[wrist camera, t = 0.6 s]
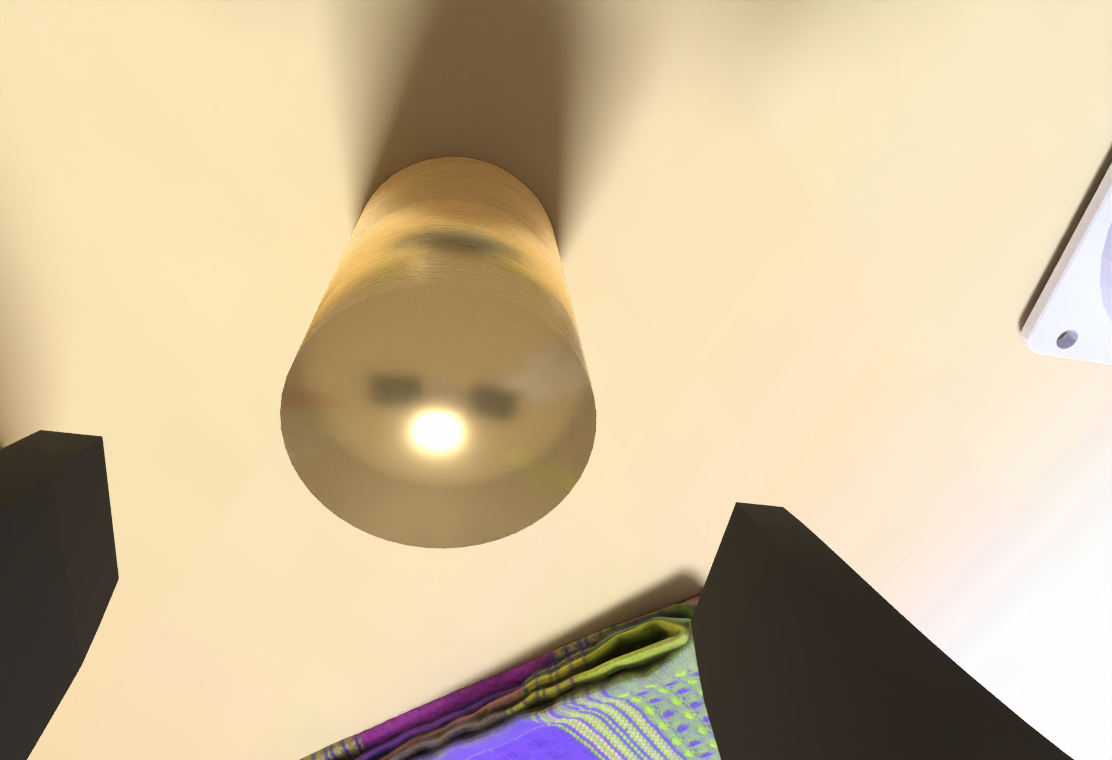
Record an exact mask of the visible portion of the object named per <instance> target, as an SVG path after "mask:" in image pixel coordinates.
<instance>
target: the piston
mask: <svg viewBox="0 0 1112 760" xmlns="http://www.w3.org/2000/svg"><path fill="white" fill-rule="evenodd" d="M280 416H281V430H282V435H283V439H284V444H285V447H286V450H287V453H288V455H289V458H290V460H291V463H292V465H293V466H294V468H295V470H296V472H297V473H298V475H299V477H300V479H301V480H302V481H303V483H304V484H305V485H306V487H307V488H308V489H309V490H310V492H311V493H312V494H313V495H314V496H315V497H316V498H317V499H318V500H319V501H320V502H321V503H322V504H323V505H324V506H325V507H326V508H328V509H329V510H330V511H332V512H333V513H334V514H335V515H337V516H338V517H339V518H341V519H343V520H344V521H346V522H348V523H349V524H351V525H352V526H354V527H356V528H358V529H360V530H362V531H365V532H367V533H369V534H371V535H374V536H377V537H379V538H382V539H385V540H388V541H392V542H396V543H400V544H404V545H410V546H417V547H424V548H458V547H467V546H473V545H479V544H484V543H487V542H491V541H495V540H499V539H501V538H504V537H506V536H509V535H512V534H514V533H516V532H518V531H520V530H522V529H524V528H526V527H528V526H530V525H532V524H533V523H535V522H536V521H538V520H539V519H541V518H542V517H544V516H545V515H547V514H548V513H549V512H550V511H551V510H552V509H554V508H555V507H556V506H557V505H558V504H559V503H560V502H561V501H562V500H563V499H564V498H565V497H566V496H567V495H568V494H569V492H570V491H571V490H572V488H573V487H574V486H575V484H576V483H577V481H578V480H579V478H580V477H581V475H582V473H583V471H584V469H585V467H586V465H587V463H588V460H589V457H590V454H591V451H592V448H593V444H594V438H595V432H596V409H595V401H594V395H593V391H592V387H591V383H590V379H589V374H588V370H587V366H586V362H585V358H584V354H583V350H582V346H581V342H580V338H579V333H578V329H577V325H576V321H575V317H574V313H573V309H572V305H571V301H570V296H569V292H568V288H567V284H566V280H565V276H564V272H563V268H562V264H561V260H560V255H559V251H558V247H557V243H556V239H555V235H554V232H553V228H552V225H551V222H550V220H549V218H548V215H547V213H546V211H545V209H544V208H543V206H542V205H541V203H540V201H539V200H538V199H537V197H536V196H535V195H534V194H533V193H532V191H531V190H530V189H529V188H528V187H527V186H526V185H524V184H523V183H522V182H521V181H520V180H519V179H517V178H516V177H515V176H513V175H512V174H510V173H509V172H507V171H505V170H503V169H501V168H499V167H498V166H495V165H493V164H490V163H487V162H485V161H481V160H477V159H473V158H466V157H438V158H432V159H427V160H424V161H421V162H417V163H414V164H412V165H410V166H408V167H406V168H403V169H402V170H400V171H399V172H397V173H395V174H394V175H392V176H391V177H390V178H389V179H387V180H386V181H385V182H384V183H383V184H382V185H381V186H380V187H379V188H378V189H377V190H376V191H375V192H374V194H373V195H372V196H371V198H370V199H369V201H368V202H367V204H366V206H365V208H364V210H363V212H362V214H361V216H360V218H359V221H358V223H357V225H356V227H355V229H354V231H353V234H352V236H351V238H350V240H349V242H348V244H347V247H346V249H345V251H344V253H343V255H342V258H341V260H340V262H339V264H338V266H337V268H336V271H335V273H334V275H333V277H332V279H331V281H330V284H329V286H328V288H327V290H326V292H325V294H324V297H323V299H322V301H321V303H320V305H319V307H318V310H317V312H316V314H315V316H314V318H313V320H312V323H311V325H310V327H309V329H308V331H307V334H306V336H305V338H304V340H303V342H302V344H301V347H300V349H299V351H298V353H297V355H296V357H295V360H294V362H293V364H292V366H291V368H290V371H289V373H288V375H287V378H286V381H285V385H284V389H283V393H282V400H281V410H280Z"/></svg>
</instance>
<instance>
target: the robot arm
mask: <svg viewBox="0 0 1112 760" xmlns="http://www.w3.org/2000/svg"><path fill="white" fill-rule="evenodd" d="M1065 331H1067V332H1066V334H1065V335H1064V337H1063V338H1062V339H1060V340H1058V341H1057V339H1058V337H1059V336H1060V335H1061V334H1062V333H1063V332H1065ZM1021 342H1022V343H1023V344H1024V345H1025V346H1026V347H1027V348H1028V349H1030V350H1031V351H1033V352H1035V353H1038V354H1044V355H1051V356H1057V357H1064V358H1071V359H1078V360H1084V361H1091V362H1098V363H1105V364H1111V365H1112V163H1111V165H1110V167H1109V169H1108V170H1107V172H1106V174H1105V176H1104V178H1103V180H1102V182H1101V183H1100V185H1099V187H1098V189H1097V191H1096V193H1095V195H1094V196H1093V198H1092V200H1091V202H1090V204H1089V206H1088V208H1087V209H1086V211H1085V213H1084V215H1083V217H1082V219H1081V221H1080V222H1079V224H1078V226H1077V228H1076V230H1075V232H1074V234H1073V236H1072V237H1071V239H1070V241H1069V243H1068V245H1067V247H1066V249H1065V250H1064V252H1063V254H1062V256H1061V258H1060V260H1059V262H1058V263H1057V265H1056V267H1055V269H1054V271H1053V273H1052V275H1051V276H1050V278H1049V280H1048V282H1047V284H1046V286H1045V288H1044V289H1043V291H1042V293H1041V295H1040V297H1039V299H1038V301H1037V302H1036V304H1035V306H1034V308H1033V310H1032V312H1031V314H1030V316H1029V317H1028V319H1027V321H1026V323H1025V325H1024V327H1023V329H1022V332H1021ZM118 579H119V576H118V568H117V559H116V550H115V542H114V533H113V525H112V516H111V507H110V499H109V490H108V482H107V473H106V464H105V456H104V447H103V439H102V437H101V436H92V435H82V434H72V433H63V432H53V431H43V430H40V431H38V432H36V433H33V434H31V435H29V436H27V437H25V438H23V439H21V440H19V441H17V442H15V443H13V444H11V445H9V446H7V447H5V448H3V449H1V450H0V760H27V758H28V757H29V755H30V753H31V752H32V750H33V748H34V747H35V745H36V743H37V742H38V740H39V738H40V736H41V735H42V733H43V731H44V730H45V728H46V726H47V724H48V723H49V721H50V719H51V718H52V716H53V714H54V712H55V711H56V709H57V707H58V705H59V704H60V702H61V700H62V699H63V697H64V695H65V693H66V692H67V690H68V688H69V687H70V685H71V683H72V681H73V679H74V678H75V676H76V674H77V672H78V671H79V669H80V667H81V665H82V663H83V661H84V659H85V657H86V654H87V652H88V650H89V648H90V645H91V643H92V641H93V639H94V636H95V634H96V632H97V630H98V627H99V625H100V623H101V620H102V618H103V615H104V613H105V611H106V608H107V606H108V603H109V601H110V599H111V596H112V594H113V591H114V589H115V586H116V584H117V582H118ZM691 628H692V634H693V641H694V647H695V654H696V660H697V667H698V672H699V677H700V683H701V688H702V694H703V699H704V703H705V707H706V710H707V714H708V717H709V721H710V724H711V727H712V731H713V734H714V738H715V741H716V744H717V748H718V751H719V754H720V758H721V760H1074V759H1072V758H1071V757H1070V756H1068V755H1067V754H1066V753H1064V752H1063V751H1062V750H1060V749H1059V748H1058V747H1056V746H1055V745H1054V744H1053V743H1051V742H1050V741H1049V740H1048V739H1046V738H1045V737H1044V736H1043V735H1041V734H1040V733H1039V732H1038V731H1036V730H1035V729H1034V728H1032V727H1031V726H1030V725H1029V724H1027V723H1026V722H1025V721H1024V720H1023V719H1021V718H1020V717H1019V716H1018V715H1017V714H1015V713H1014V712H1013V711H1012V710H1011V709H1009V708H1008V707H1007V706H1006V705H1005V704H1003V703H1002V702H1001V701H1000V700H999V699H997V698H996V697H995V696H994V695H993V694H992V693H990V692H989V691H988V690H987V689H986V688H984V687H983V686H982V685H981V684H980V683H978V682H977V681H976V680H975V679H974V678H972V677H971V676H970V675H969V674H968V673H966V672H965V671H964V670H963V669H962V668H961V667H960V666H958V665H957V664H956V663H955V662H954V661H953V660H952V659H951V658H949V657H948V656H947V655H946V654H945V653H944V652H943V651H941V650H940V649H939V648H938V647H937V646H936V645H935V644H933V643H932V642H931V641H930V640H929V639H928V638H927V637H926V636H925V635H923V634H922V633H921V632H920V631H919V630H918V629H917V628H916V627H915V626H913V625H912V624H911V623H910V622H909V621H908V620H907V619H906V618H905V617H904V616H903V615H901V614H900V613H899V612H898V611H897V610H896V609H895V608H894V607H893V606H892V605H891V604H889V603H888V602H887V601H886V600H885V599H884V598H883V597H882V596H881V595H880V594H879V593H878V592H876V591H875V590H874V589H873V588H872V587H871V586H870V585H869V584H868V583H867V582H866V581H865V580H864V579H863V578H861V577H860V576H859V575H858V574H857V573H856V572H855V571H854V570H853V569H852V568H851V567H850V566H849V565H848V564H846V563H845V562H844V561H843V560H842V559H841V558H840V557H839V556H838V555H837V554H836V553H835V552H834V551H832V550H831V549H830V548H829V547H828V546H827V545H826V544H825V543H824V542H823V541H822V540H820V539H819V538H818V537H817V536H816V535H815V534H814V533H813V532H812V531H811V530H809V529H808V528H807V527H806V526H805V525H804V524H803V523H801V522H800V521H799V520H798V519H797V518H796V517H794V516H793V515H792V514H791V513H789V512H788V511H787V510H786V509H785V508H783V507H777V506H767V505H757V504H748V503H738V502H736V504H735V507H734V510H733V512H732V515H731V517H730V520H729V523H728V525H727V528H726V530H725V533H724V536H723V538H722V541H721V544H720V546H719V549H718V551H717V554H716V557H715V559H714V562H713V564H712V567H711V570H710V572H709V575H708V577H707V580H706V583H705V585H704V588H703V590H702V593H701V596H700V598H699V601H698V603H697V606H696V609H695V611H694V614H693V616H692V619H691Z"/></svg>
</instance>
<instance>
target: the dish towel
mask: <svg viewBox="0 0 1112 760" xmlns="http://www.w3.org/2000/svg"><path fill="white" fill-rule="evenodd" d="M700 596H701V595H698V596H695V597H693V598H690V599H688V600H687V601H685V602H683V603H679V604H672V605H668V606H666V607H664V608H662V609H660V610H657V611H655V612H652V613H649V614H645V615H642V616H639V617H637V618H634V619H632V620H629V621H626V622H623V623H621V624H617V625H614V626H612V627H609V628H606V629H603V630H601V631H598V632H595V633H593V634H590V635H588V636H586V637H583V638H581V639H579V640H577V641H574V642H572V643H570V644H568V645H565V646H563V647H560V648H558V649H555V650H553V651H551V652H549V653H547V654H545V655H543V656H540V657H538V658H536V659H533V660H531V661H529V662H527V663H525V664H523V665H520V666H517V667H515V668H512V669H510V670H507V671H505V672H502V673H499V674H497V675H495V676H493V677H490V678H488V679H485V680H482V681H480V682H477V683H475V684H473V685H471V686H468V687H466V688H463V689H460V690H458V691H455V692H452V693H450V694H448V695H446V696H444V697H441V698H439V699H436V700H434V701H432V702H429V703H427V704H425V705H422V706H420V707H417V708H415V709H412V710H410V711H408V712H406V713H404V714H401V715H399V716H397V717H395V718H392V719H390V720H387V721H385V722H383V723H382V724H379V725H376V726H375V727H373V728H371V729H368V730H366V731H363V732H361V733H359V734H356V735H354V736H351V737H349V738H346V739H344V740H341V741H339V742H337V743H334V744H332V745H330V746H327V747H326V748H324V749H322V750H320V751H318V752H316V753H314V754H311V755H309V756H307V757H305V758H303V759H301V760H721V758H720V754H719V751H718V748H717V744H716V741H715V738H714V734H713V731H712V727H711V724H710V721H709V717H708V714H707V710H706V707H705V703H704V699H703V694H702V688H701V683H700V677H699V672H698V667H697V660H696V654H695V647H694V641H693V634H692V628H691V619H692V616H693V614H694V611H695V609H696V606H697V603H698V601H699V598H700Z"/></svg>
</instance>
